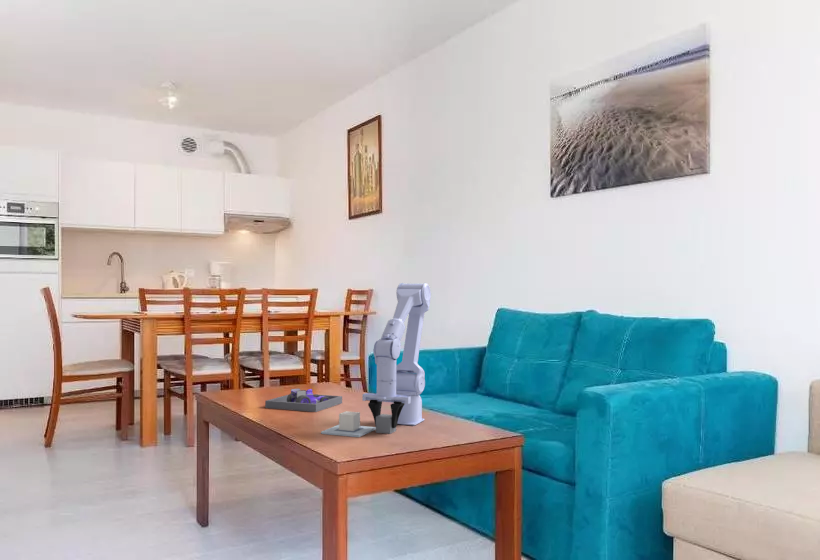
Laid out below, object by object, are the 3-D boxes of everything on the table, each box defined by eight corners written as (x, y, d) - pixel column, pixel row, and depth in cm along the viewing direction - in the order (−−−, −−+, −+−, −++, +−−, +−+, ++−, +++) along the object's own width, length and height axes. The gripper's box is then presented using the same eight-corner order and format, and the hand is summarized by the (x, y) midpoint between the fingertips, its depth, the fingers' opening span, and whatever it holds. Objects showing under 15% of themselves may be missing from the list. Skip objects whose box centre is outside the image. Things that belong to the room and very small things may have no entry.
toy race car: (336, 406, 236) (336, 388, 236) (298, 410, 227) (298, 391, 227) (323, 402, 244) (323, 385, 244) (286, 406, 235) (286, 388, 235)
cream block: (345, 426, 195) (345, 411, 195) (359, 428, 193) (360, 412, 193) (338, 429, 191) (339, 413, 191) (353, 431, 189) (353, 414, 189)
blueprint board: (339, 426, 199) (339, 423, 199) (376, 429, 195) (376, 426, 195) (321, 433, 188) (321, 431, 188) (359, 437, 184) (359, 434, 184)
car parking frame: (294, 399, 248) (294, 392, 248) (342, 403, 241) (342, 396, 241) (265, 407, 230) (265, 400, 230) (315, 412, 223) (316, 404, 223)
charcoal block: (381, 429, 195) (381, 414, 195) (396, 430, 193) (396, 415, 193) (375, 432, 191) (375, 416, 191) (390, 433, 189) (390, 417, 189)
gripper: (358, 380, 191) (357, 427, 191) (404, 383, 186) (404, 431, 186) (368, 377, 198) (367, 422, 197) (413, 380, 193) (412, 426, 192)
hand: (386, 426), depth 192 cm, fingers closed on charcoal block, 5 cm apart
